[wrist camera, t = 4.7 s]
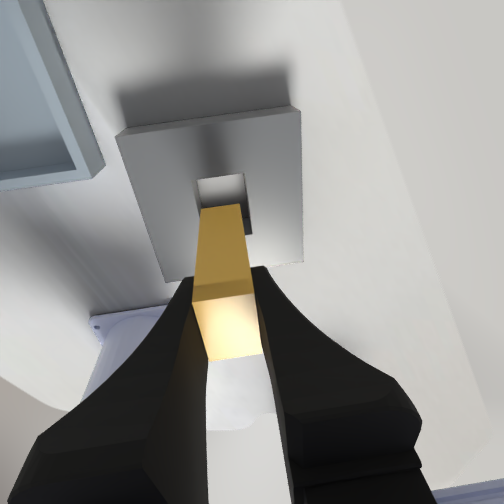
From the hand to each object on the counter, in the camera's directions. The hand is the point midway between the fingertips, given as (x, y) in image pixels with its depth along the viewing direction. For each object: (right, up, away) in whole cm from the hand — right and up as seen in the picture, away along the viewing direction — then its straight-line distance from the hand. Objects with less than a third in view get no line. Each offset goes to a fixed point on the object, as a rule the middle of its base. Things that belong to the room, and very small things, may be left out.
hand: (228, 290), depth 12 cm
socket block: (-1, +6, +9) cm, 10 cm away
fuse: (-1, +3, +4) cm, 5 cm away
